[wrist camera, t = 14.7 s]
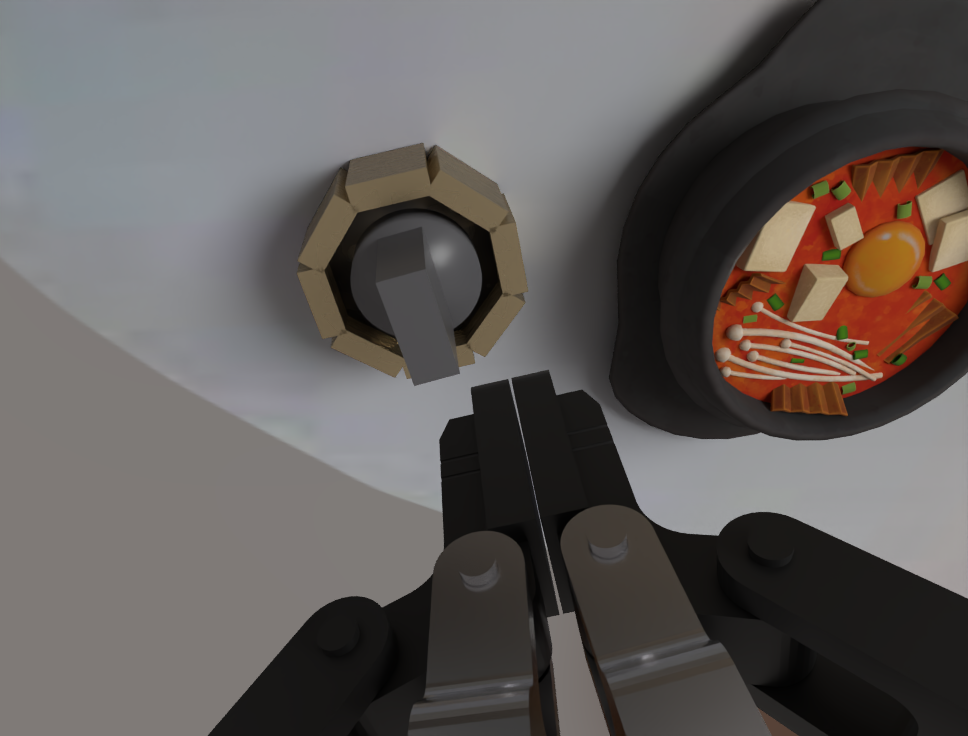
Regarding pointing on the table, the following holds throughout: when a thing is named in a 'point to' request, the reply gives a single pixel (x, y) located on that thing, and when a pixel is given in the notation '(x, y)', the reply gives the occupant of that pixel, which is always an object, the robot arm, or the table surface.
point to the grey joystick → (417, 286)
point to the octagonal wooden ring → (395, 187)
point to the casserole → (807, 236)
